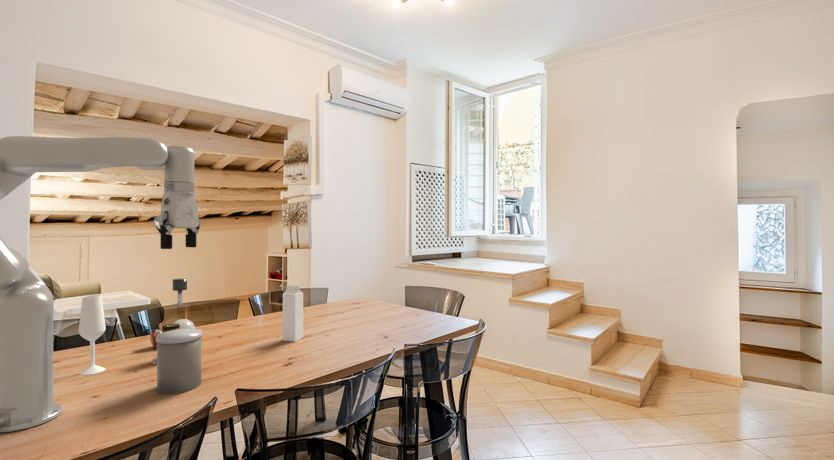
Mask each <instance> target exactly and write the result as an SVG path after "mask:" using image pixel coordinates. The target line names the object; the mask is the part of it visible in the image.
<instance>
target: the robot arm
mask: <svg viewBox="0 0 834 460" xmlns="http://www.w3.org/2000/svg"><path fill="white" fill-rule="evenodd" d="M119 167H120V168H124V167H137V168H138V169H140V170H143V171H164V172H163V174H164V178H163V180H164V181H163V183H164V184H163V195H162V200H161V206H160V214H159V215H158V216H156V217H154V219H153V221H154V224H155V228H156V230H157V231H158V235H160V249H161V250H172V249H173V234H171V233H172V232H173V230H174V229H177V228H178V229H184V230H185V231H186V234H185V247H186V248H196V247H197V235H198V233H199V230H200V227H201V224H202V220H201V219H200V218H199V207H198V206H199V205H198V199H197V196H196V194H195V152H194V149H192V148H191V147H189V146H184V145H168V146H165V144H164V143H163V142H161V141H160V140H157V139H154V138H151V137H128V136H127V137H125V136H115V137H114V136H110V137H109V136H107V137H60V136H58V137H56V136H52V137H51V136H33V135H32V136H30V135H28V136H27V135H26V136H25V135H13V136H12V135H11V136H5V137H2V138H0V201H1V200H3V199H4V198H5V197H7V196H8V195H9V194H11V193H12V192H13V191H14V190H15V189H17V188H18V187H20V186H21V185H22V184H24V183H25V182H26V181H28V180H29V179H30V178H32V176H34V175H35V174H36V173H72V172H73V173H82V172H83V173H86V172H94V171H99V170H102V169H107V168H119ZM54 302H55V301H54V295H53V293H52V291H51V290H50V288H49V287H48V286H47V284H46V283H45V282H44V281H43V280H42V278H41V277H40V275H39V274H38V273H37V271H36V270H35V269H34V268H33V267H32V265H31V264H30V263H29V261H28V260H27V259H26V258H25V256H24V255H23V254H22V253H20V252H19V251H17V250H16V249H13V248H11V247H9V246H8V244H7V243H6V242H5V241H4V240H3V238H2V237H1V236H0V433H9V432H15V431H21V430H24V429H25V430H26V429H29V428H34V427H36V426H39V425H43V424H44V423H47V422H50V421H52V420H53V419H55V418H57V417H58V416H59V415H61V413H62V411H63V410H62V409H63V408H62V407H63V406H62V405H60V404H59V403H54V314H55V313H54V308H55V307H54V304H55V303H54Z"/></svg>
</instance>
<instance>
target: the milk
mask: <svg viewBox="0 0 834 460" xmlns="http://www.w3.org/2000/svg"><path fill="white" fill-rule="evenodd" d="M303 338H304V292H303V291H301V290H300V285H286V290H285V291H284V292H283V293H282V341H288V342H297V341H299V340H302V339H303Z"/></svg>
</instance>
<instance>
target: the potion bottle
mask: <svg viewBox="0 0 834 460" xmlns="http://www.w3.org/2000/svg"><path fill="white" fill-rule="evenodd" d="M172 324H179V325H180V329H196V325H195V324H194V322H193V321H191V320H189V319H188V318H183V319H182V318H181V319H179V318H178V320H176V321H174V322H173V323H172ZM160 333H162V330H159V329H155V332H149V335H150V338H149V339H150V343H151V345H152V347H153V348H156V347H157V342H156V336H157V335H158V334H160Z"/></svg>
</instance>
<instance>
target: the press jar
mask: <svg viewBox="0 0 834 460" xmlns="http://www.w3.org/2000/svg"><path fill="white" fill-rule="evenodd" d="M203 334H204V333H203V330H202V329H200V328H199V329H198V328H195V329H178V330H172V331H167V332H163V333H160V334H158V335H157V336H156V342H157V346H156V347H157V348H156V352H157V356H156V357H157V364H156V371H157V372H156V380H157V381H156V382H157V383H156V387H157V389H156V390H157V392H158V393H159V394H164V395H171V394H172V395H174V394H175V395H176V394H180V393H185V392H189V391H192V390H194V389H197V388H198V387H200V386H201V384H202V337H203Z"/></svg>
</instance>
